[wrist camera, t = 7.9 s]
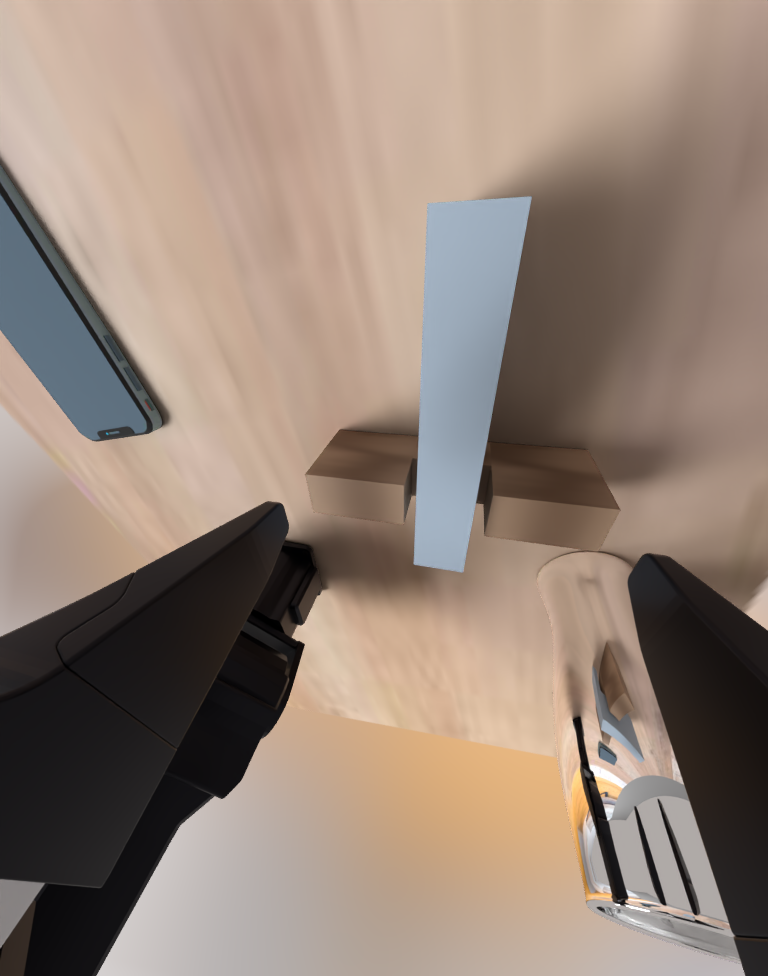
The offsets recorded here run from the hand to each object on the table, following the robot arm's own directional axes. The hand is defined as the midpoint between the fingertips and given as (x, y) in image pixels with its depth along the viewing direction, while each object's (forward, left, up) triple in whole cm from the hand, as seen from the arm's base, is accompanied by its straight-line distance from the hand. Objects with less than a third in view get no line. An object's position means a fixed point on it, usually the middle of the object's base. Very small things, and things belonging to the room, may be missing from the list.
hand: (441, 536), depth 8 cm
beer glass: (+10, -13, -11) cm, 20 cm away
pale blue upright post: (0, 0, -11) cm, 11 cm away
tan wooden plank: (0, -4, -11) cm, 12 cm away
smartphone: (-25, +3, -12) cm, 28 cm away
